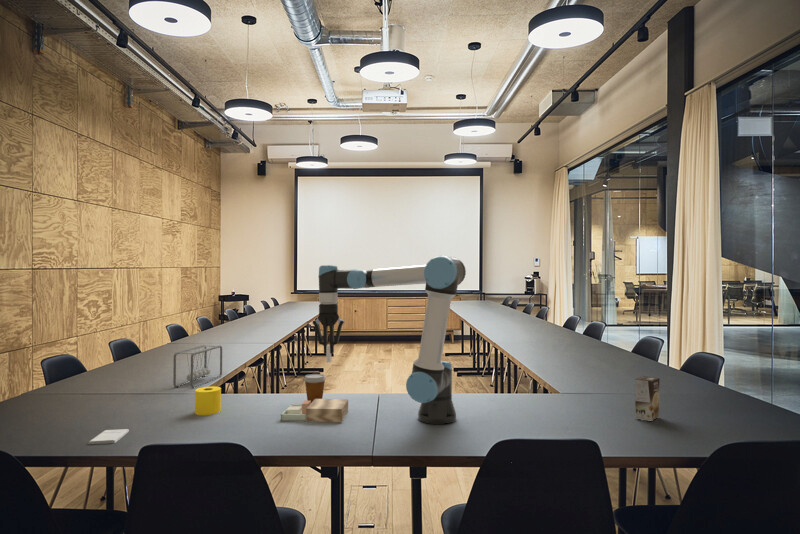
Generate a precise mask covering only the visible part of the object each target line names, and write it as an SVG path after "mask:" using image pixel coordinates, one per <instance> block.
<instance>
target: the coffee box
mask: <svg viewBox="0 0 800 534" xmlns="http://www.w3.org/2000/svg"><path fill="white" fill-rule="evenodd" d="M634 380H635V381H634V382H635V386H634V387H635V388H634V390H635V391H634V392H635V393H634V394H635V395H634V396H635V399H634V401H635V402H634V403H635V404H634V405H635V406H634V409H635V411H634V412H635V415H634V416H635V417H634V419H635V418H638V419H643V420H648V421H652V420H654V419H656V418H658V417H659V418H660V411H661V410H660V377H655V376H646V375H642V376H640V377H637V378H635V379H634ZM659 418H658V419H659ZM638 419H637V420H638ZM643 420H642V421H643ZM656 420H657V419H656ZM654 421H655V420H654Z"/></svg>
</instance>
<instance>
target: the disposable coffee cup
mask: <svg viewBox="0 0 800 534" xmlns="http://www.w3.org/2000/svg"><path fill="white" fill-rule="evenodd" d="M326 379H327V378H326V376H325V374H322V373H312V374H306V375H304V378H303V380H304V383H305V392H306V393H305V394H306V398H307V399H306V401H311V403H312V402H313V401H314V399H324V398H323V396H324V389H325V388H324V387H325V383H326Z"/></svg>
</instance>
